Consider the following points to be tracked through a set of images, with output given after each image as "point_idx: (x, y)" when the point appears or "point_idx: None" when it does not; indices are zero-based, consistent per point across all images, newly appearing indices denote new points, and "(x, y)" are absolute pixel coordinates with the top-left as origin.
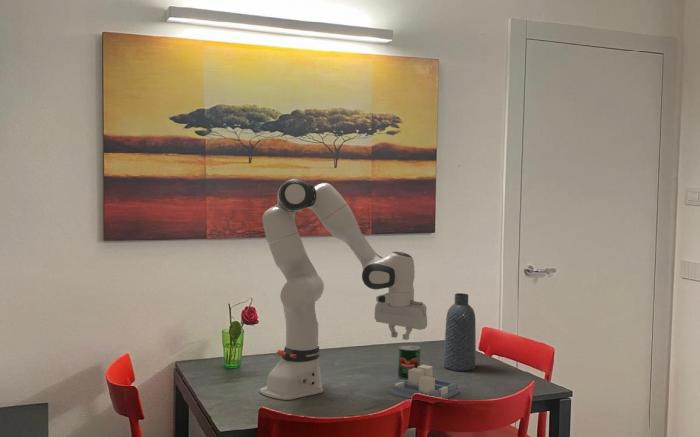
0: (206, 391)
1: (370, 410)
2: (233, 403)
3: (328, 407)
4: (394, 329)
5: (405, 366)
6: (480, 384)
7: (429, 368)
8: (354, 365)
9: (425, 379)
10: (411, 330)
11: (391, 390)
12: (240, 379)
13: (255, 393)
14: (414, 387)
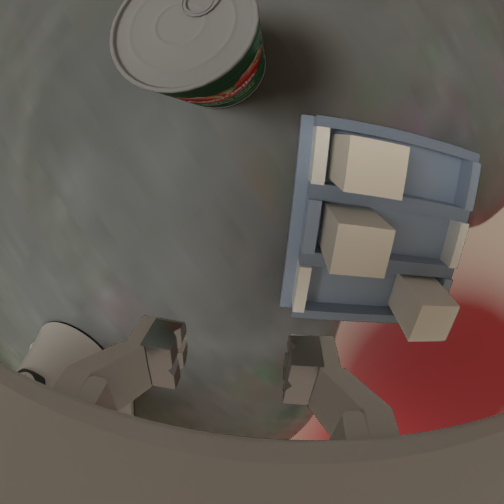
0: None
1: (303, 416)
2: None
3: None
4: (124, 366)
5: (216, 101)
6: (475, 32)
7: (404, 177)
8: (15, 106)
9: (431, 340)
10: (382, 407)
11: (283, 306)
12: (4, 358)
13: None
14: None
